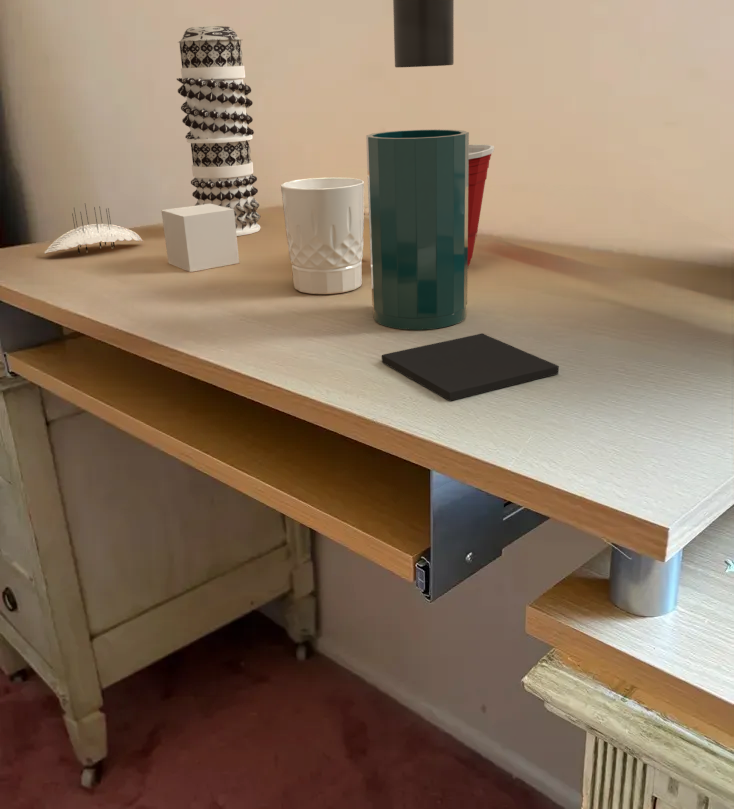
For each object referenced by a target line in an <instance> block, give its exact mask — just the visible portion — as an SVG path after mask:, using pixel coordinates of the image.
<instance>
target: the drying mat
mask: <svg viewBox="0 0 734 809" xmlns="http://www.w3.org/2000/svg"><path fill="white" fill-rule="evenodd" d="M381 362H382V363H383V364H384V365H386V366H388V367H390V368H391V369H393V370H395V371H396V372H398V373H400V374H402V375H403V376H405V377H407V378H409V379H411V380H413V381H414V382H415V383H417V384H419V385H421V386H423V387H424V388H426V389H428V390H429V391H432V392H433V393H435V394H436V395H438V396H440V397H442V398H444V399H445V400H447V401H449V402H452V401H455V400H461V399H463V398H468V397H471V396H476V395H479V394H483V393H487V392H491V391H494V390H499V389H503V388H508V387H511V386H516V385H519V384H524V383H527V382H531V381H535V380H539V379H543V378H546V377H550V376H555V375H558V374H559V370H560V369H559V365H557V364H555V363H553V362H550V361H548V360H546V359H543V358H541V357H539V356H536V355H534V354H532V353H529V352H528V351H526V350H523V349H520V348H518V347H516V346H514V345H511V344H509V343H506V342H504V341H501V340H499V339H497V338H494V337H492V336H489V335H488V334H485V333H477V334H472V335H467V336H463V337H459V338H453V339H449V340H444V341H440V342H435V343H431V344H426V345H422V346H417V347H412V348H408V349H402V350H398V351H393V352H389V353H383V354H381Z"/></svg>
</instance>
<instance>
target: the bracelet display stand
mask: <svg viewBox="0 0 734 809" xmlns="http://www.w3.org/2000/svg"><path fill="white" fill-rule="evenodd" d="M178 43H179V52H180V60H181V68H180V74H181V77H178V78H176V81H177V82H179V83H181V86H180V87H179V88H178V89H177V93H178V94H179V95H180V96H182V97H183V98H186V100H185V101H184V102H183V103H182V105H181V106H180V110H181V111H182V112H183V113H184V114H186V115H185V116H184V117H183V118H182V121H181V122H182V123H183V124H184V125H185V126H186V127H187V128H189V129H190V130H189V131H188V132H187V133H186V135H185V139H186V142H187V143H188V144H190V149H191V159H192V164H191V170H192V177H194V178H193V179H191V180H190V184H191V185H192V186H193V187H195V188H196V189H195V190H194V191H193V192H192V194H191V196H192V197H193V198H195V199H196V200H197V201H196V203H195V204H194V206H196V205H203V204H214V205H218V206H222V207H226V208H230V209H234V214H235V224H236V234H237V237H240V236H246V235H251V234H255V233H258V232H259V231H260V230H261V225H260V224H258V222H259V220H260V219H261V215H260V213H258V209H259V208H260V203H259V201H257V199H256V198H255V195H257V194H258V192H259V190H258V188H256V187H255V186H253V185H254V184H255V183H256V182H257V181H258V177H257V176H256V175H254V163H253V161H252V159H251V147H250V141H251V140H253V139H254V138H253V137H254V136H253V135H254V134H255V131H254V130H253V128H251V127H249V124H251V123H252V122H253V120H254V119H253V117H252V116H251V115H249V114H248V113H247V109H249V108H250V107H251V106H252V105H253V103H254V102H253V101H252V100H251V99H250V98H248V95H249V94H251V93H252V88H251V87H250V85H248V84H247V83H246V82H245V83H244V79H245V78H246V67H245V65H244V64H243V60H242V58H243V52H242V48H241V47H242V39H241V38H240V37H239V36H238V34H237V32H236V31H235V30H234V28H233V27H230V26H226V25H225V26H224V25H221V26H219V25H216V26H215V25H214V26H194V27H193V26H192V27H189V28H187V29H185V31H184V32H183V35H182V37H181V39H180V41H178Z"/></svg>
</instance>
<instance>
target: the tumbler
mask: <svg viewBox="0 0 734 809" xmlns="http://www.w3.org/2000/svg"><path fill="white" fill-rule="evenodd" d="M365 140H366V169H367V196H368V197H367V198H368V224H369V225H368V226H369V228H368V229H369V252H370V253H369V255H370V278H371V280H370V281H371V305H372V318H373V320H374V321H375V322H376V323H378V324H379V325H382V326H384V327H387V328H392V329H399V330H408V331H410V330H411V331H421V330H422V331H424V330H435V329H437V330H438V329H442V328H447V327H451V326H454V325H457V324H459V323H462V322H463V321H465V319H466V318H467V305H468V271H469V270H468V269H469V268H468V267H469V266H468V168H469V145H470V132H469V131H466V130H459V129H440V128H439V129H438V128H437V129H436V128H435V129H407V130H391V131H380V132H374V133H369V134H367V135H366V136H365Z"/></svg>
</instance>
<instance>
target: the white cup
mask: <svg viewBox="0 0 734 809" xmlns="http://www.w3.org/2000/svg"><path fill="white" fill-rule="evenodd" d="M280 190H281V198H282V208H283V217H284V224H285V234H286V242H287V248H288V256H289V260H290V263H291V272H292V280H293V288H294V289H295V290H296V291H298V292H300V293H304V294H310V295H334V294H343V293H347V292H352V291H355V290H357V289H359V288H360V287H361V286H362V283H363V281H362V280H363V279H362V278H363V274H362V270H363V269H362V268H363V261H362V260H363V258H364V240H365V239H364V231H365V181H364V180H363V179H361V178H356V177H345V176H344V177H343V176H342V177H341V176H339V177H338V176H334V177H333V176H329V177H328V176H327V177H310V178H300V179H293V180H289V181H285V182H283V183H281V184H280Z"/></svg>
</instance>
